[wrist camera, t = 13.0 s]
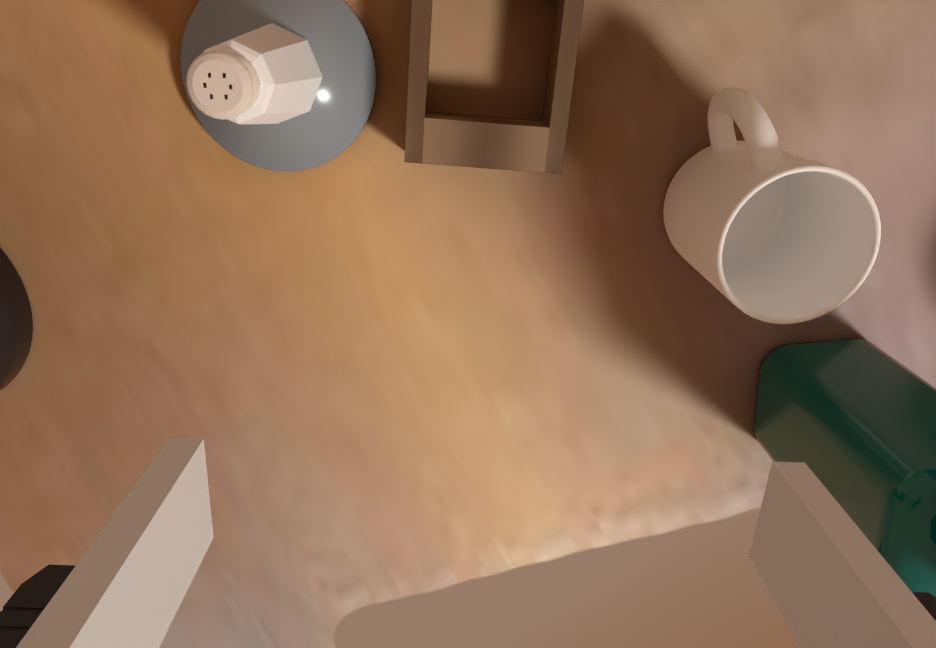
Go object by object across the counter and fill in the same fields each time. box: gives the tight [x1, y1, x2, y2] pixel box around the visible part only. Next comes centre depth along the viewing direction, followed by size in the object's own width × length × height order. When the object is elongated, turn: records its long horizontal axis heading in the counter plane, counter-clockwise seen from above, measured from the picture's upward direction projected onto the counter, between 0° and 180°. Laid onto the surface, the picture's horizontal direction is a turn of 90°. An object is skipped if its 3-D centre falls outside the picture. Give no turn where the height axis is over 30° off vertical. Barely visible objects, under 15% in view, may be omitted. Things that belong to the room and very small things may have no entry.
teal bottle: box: [754, 339, 936, 597], centre depth 40 cm, size 10×8×22 cm
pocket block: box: [404, 0, 584, 174], centre depth 40 cm, size 9×12×4 cm
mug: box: [663, 87, 881, 324], centre depth 40 cm, size 12×8×10 cm
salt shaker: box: [186, 23, 323, 125], centre depth 35 cm, size 5×5×11 cm
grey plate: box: [181, 0, 377, 171], centre depth 41 cm, size 11×11×1 cm
